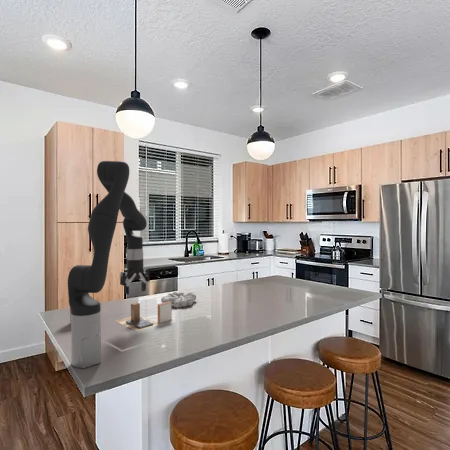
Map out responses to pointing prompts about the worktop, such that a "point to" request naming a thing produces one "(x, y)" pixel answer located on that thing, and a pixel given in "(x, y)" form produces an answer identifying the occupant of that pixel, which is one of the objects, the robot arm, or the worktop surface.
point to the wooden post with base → (137, 317)
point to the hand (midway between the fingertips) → (135, 292)
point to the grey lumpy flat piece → (179, 299)
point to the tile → (164, 311)
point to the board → (123, 322)
